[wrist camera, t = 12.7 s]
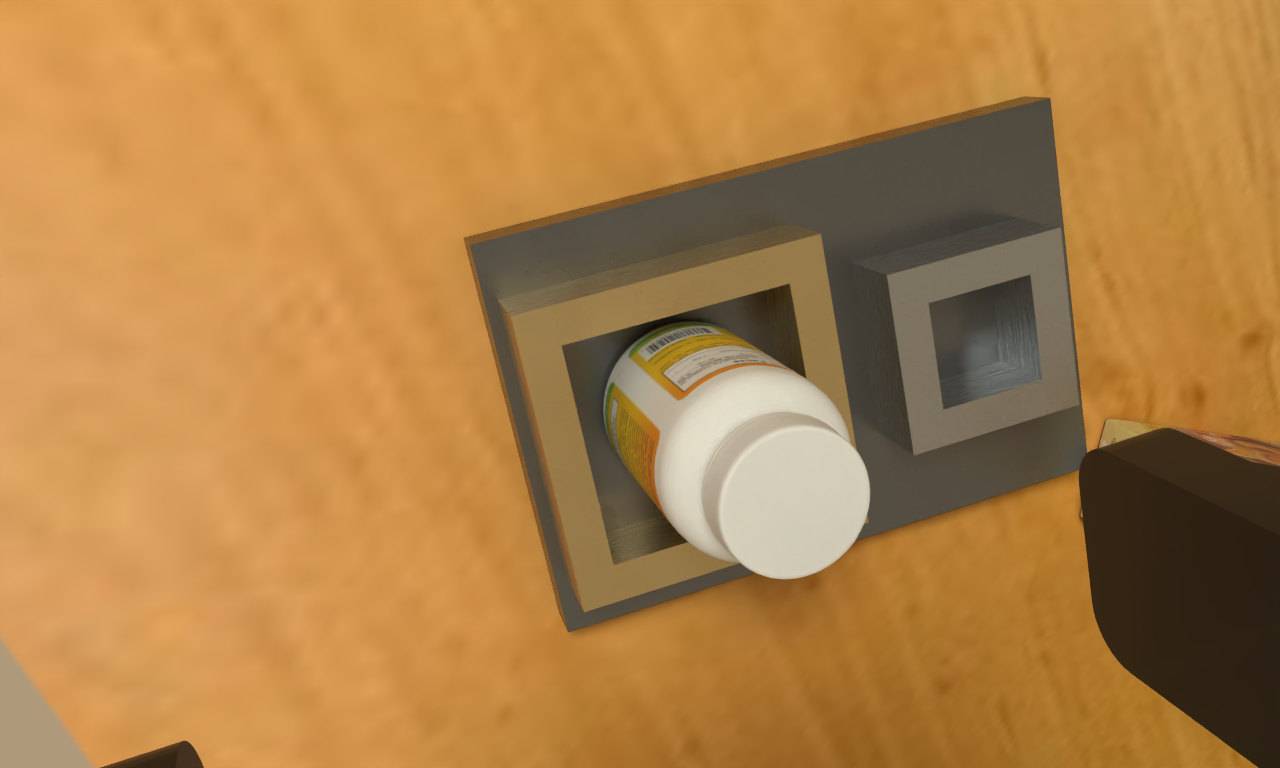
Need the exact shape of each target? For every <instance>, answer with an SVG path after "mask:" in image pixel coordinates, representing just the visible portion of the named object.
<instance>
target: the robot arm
mask: <svg viewBox="0 0 1280 768" xmlns="http://www.w3.org/2000/svg"><path fill="white" fill-rule="evenodd" d="M1079 487H1080V496H1081V505H1082V514H1083V523H1084V532H1085V541H1086V550H1087V559H1088V568H1089V577H1090V586H1091V595H1092V604H1093V610H1094V614H1095V618H1096V621H1097V624H1098V627H1099V629H1100V632H1101V634H1102V636H1103V638H1104V640H1105V642H1106V644H1107V646H1108V647H1109V649H1110V650H1111V652H1112V653H1113V655H1114V656H1115V657H1116V659H1117V660H1118V661H1119V662H1120V663H1121V665H1122V666H1123V667H1124V668H1125V669H1127V670H1128V671H1129V672H1130V673H1131V674H1133V675H1134V676H1135V677H1137V678H1138V679H1140V680H1141V681H1142V682H1144V683H1145V684H1146V685H1148V686H1149V687H1150V688H1152V689H1153V690H1154V691H1156V692H1157V693H1158V694H1160V695H1161V696H1162V697H1164V698H1165V699H1167V700H1168V701H1169V702H1171V703H1172V704H1173V705H1175V706H1176V707H1177V708H1179V709H1180V710H1181V711H1183V712H1184V713H1185V714H1187V715H1188V716H1190V717H1191V718H1192V719H1194V720H1195V721H1196V722H1198V723H1199V724H1200V725H1202V726H1203V727H1204V728H1206V729H1207V730H1208V731H1210V732H1211V733H1213V734H1214V735H1215V736H1217V737H1218V738H1219V739H1221V740H1222V741H1223V742H1225V743H1226V744H1227V745H1229V746H1230V747H1231V748H1233V749H1234V750H1235V751H1237V752H1238V753H1240V754H1241V755H1242V756H1244V757H1245V758H1246V759H1248V760H1249V761H1250V762H1252V763H1253V764H1254V765H1256V766H1257V767H1258V768H1280V467H1278V466H1272V465H1267V464H1261V463H1256V462H1251V461H1249V460H1247V459H1244V458H1242V457H1240V456H1237V455H1235V454H1232V453H1230V452H1228V451H1225V450H1223V449H1221V448H1218V447H1216V446H1214V445H1211V444H1209V443H1206V442H1204V441H1202V440H1199V439H1197V438H1195V437H1192V436H1190V435H1188V434H1185V433H1183V432H1180V431H1178V430H1175V429H1172V428H1160V429H1156V430H1153V431H1150V432H1147V433H1144V434H1141V435H1138V436H1135V437H1132V438H1128V439H1125V440H1122V441H1119V442H1116V443H1113V444H1110V445H1107V446H1104V447H1101V448H1097V449H1094V450H1091V451H1090V452H1088V453H1087V454H1086V455H1085V456H1084V458H1083V460H1082V462H1081V465H1080V470H1079ZM101 768H204V767H203V765H202V762H201V760H200V758H199V756H198V754H197V752H196V751H195V749H194V748H193V746H192V745H191V744H190V743H189V742H188V741H182V742H179V743H176V744H172V745H169V746H166V747H163V748H160V749H157V750H154V751H151V752H148V753H145V754H141V755H138V756H135V757H132V758H129V759H126V760H123V761H120V762H117V763H113V764H110V765H107V766H104V767H101Z"/></svg>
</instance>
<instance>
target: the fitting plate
mask: <svg viewBox="0 0 1280 768" xmlns="http://www.w3.org/2000/svg"><path fill="white" fill-rule="evenodd" d="M464 241H465V245H466V249H467V253H468V257H469V261H470V265H471V269H472V273H473V277H474V281H475V284H476V288H477V292H478V296H479V300H480V304H481V308H482V312H483V316H484V320H485V324H486V328H487V331H488V335H489V339H490V343H491V347H492V351H493V355H494V359H495V363H496V367H497V371H498V374H499V378H500V382H501V386H502V390H503V394H504V398H505V402H506V406H507V410H508V414H509V418H510V421H511V425H512V429H513V433H514V437H515V441H516V445H517V449H518V453H519V457H520V461H521V465H522V468H523V472H524V476H525V480H526V484H527V488H528V492H529V496H530V500H531V504H532V508H533V512H534V515H535V519H536V523H537V527H538V531H539V535H540V539H541V543H542V547H543V551H544V555H545V558H546V562H547V566H548V570H549V574H550V578H551V582H552V586H553V590H554V594H555V598H556V602H557V605H558V609H559V613H560V615H561V617H562V620H563V622H564V624H565V626H566V628H567V631H568V632H571V631H574V630H577V629H580V628H583V627H586V626H590V625H593V624H596V623H599V622H602V621H605V620H608V619H612V618H615V617H618V616H621V615H624V614H627V613H630V612H634V611H637V610H640V609H643V608H646V607H649V606H652V605H656V604H659V603H662V602H665V601H668V600H671V599H674V598H678V597H681V596H684V595H687V594H690V593H693V592H696V591H700V590H703V589H706V588H709V587H712V586H715V585H718V584H722V583H725V582H728V581H731V580H734V579H737V578H740V577H744V576H747V575H750V574H753V573H755V572H753V571H751V570H749V569H747V568H746V567H745V566H743V565H742V564H741V563H737V562H730V561H725V560H721V559H718V558H715V557H712V556H710V555H708V554H706V553H704V552H702V551H700V550H698V549H697V548H695V547H694V546H693V545H691V544H690V543H689V542H688V541H687V540H686V539H685V538H684V537H683V536H681V535H680V534H679V533H678V532H677V531H676V529H675V528H674V527H673V526H672V525H671V523H670V522H669V521H668V520H667V519H666V517H665V516H664V515H663V513H662V512H661V511H660V510H659V508H658V507H657V506H656V504H655V503H654V502H653V500H652V499H651V498H650V497H649V495H648V494H647V493H646V492H645V490H644V489H643V488H642V487H641V485H640V484H639V483H638V482H637V480H636V479H635V478H634V477H633V475H632V474H631V473H630V472H629V471H628V469H627V468H626V467H625V465H624V464H623V463H622V461H621V460H620V459H619V457H618V456H617V454H616V453H615V451H614V449H613V447H612V446H611V443H610V441H609V439H608V436H607V433H606V429H605V424H604V415H603V407H604V395H605V390H606V386H607V383H608V380H609V377H610V375H611V373H612V371H613V368H614V367H615V365H616V363H617V362H618V360H619V359H620V357H621V356H622V355H623V353H624V352H625V351H626V350H627V349H628V348H629V347H630V346H631V345H632V344H633V343H634V342H635V341H637V340H638V339H639V338H641V337H642V336H644V335H645V334H647V333H649V332H651V331H653V330H655V329H657V328H659V327H662V326H665V325H668V324H672V323H678V322H690V321H691V322H703V323H709V324H713V325H716V326H719V327H721V328H724V329H726V330H728V331H730V332H732V333H733V334H735V335H737V336H738V337H740V338H742V339H743V340H745V341H746V342H748V343H750V344H751V345H753V346H754V347H756V348H757V349H759V350H761V351H762V352H764V353H766V354H767V355H769V356H771V357H772V358H773V359H775V360H776V361H778V362H780V363H781V364H783V365H784V366H786V367H788V368H789V369H791V370H793V371H795V372H796V373H798V374H799V375H801V376H803V377H804V378H806V379H807V380H809V381H810V382H812V383H813V384H814V385H815V386H816V387H818V388H819V389H820V390H821V391H822V392H823V393H825V394H826V395H827V396H828V397H829V399H830V400H831V401H832V402H833V403H834V405H835V406H836V407H837V409H838V411H839V412H840V414H841V416H842V418H843V420H844V422H845V424H846V427H847V430H848V433H849V437H850V442H851V445H852V446H853V447H854V448H855V449H856V451H857V452H858V453H859V455H860V456H861V458H862V460H863V462H864V464H865V467H866V470H867V473H868V477H869V483H870V504H869V508H868V513H867V516H866V520H865V522H864V525H863V527H862V529H861V531H860V533H859V535H858V537H857V538H856V540H855V541H857V540H860V539H863V538H866V537H869V536H872V535H876V534H879V533H882V532H885V531H888V530H891V529H894V528H898V527H901V526H904V525H907V524H910V523H913V522H916V521H920V520H923V519H926V518H929V517H932V516H935V515H938V514H942V513H945V512H948V511H951V510H954V509H957V508H960V507H964V506H967V505H970V504H973V503H976V502H979V501H982V500H986V499H989V498H992V497H995V496H998V495H1001V494H1004V493H1008V492H1011V491H1014V490H1017V489H1020V488H1023V487H1026V486H1030V485H1033V484H1036V483H1039V482H1042V481H1045V480H1048V479H1052V478H1055V477H1058V476H1061V475H1064V474H1067V473H1070V472H1074V471H1077V470H1080V465H1081V462H1082V460H1083V458H1084V456H1085V455H1086V454H1087V448H1086V438H1085V429H1084V419H1083V409H1082V400H1081V390H1080V380H1079V371H1078V361H1077V351H1076V342H1075V332H1074V322H1073V313H1072V303H1071V294H1070V284H1069V274H1068V265H1067V255H1066V245H1065V236H1064V226H1063V216H1062V207H1061V197H1060V187H1059V178H1058V168H1057V158H1056V149H1055V139H1054V130H1053V120H1052V110H1051V101H1050V98H1042V97H1021V98H1017V99H1013V100H1009V101H1005V102H1001V103H997V104H994V105H990V106H986V107H982V108H978V109H974V110H970V111H966V112H962V113H958V114H954V115H950V116H946V117H942V118H938V119H934V120H930V121H926V122H922V123H918V124H914V125H910V126H906V127H902V128H898V129H894V130H890V131H886V132H882V133H878V134H874V135H870V136H866V137H862V138H858V139H854V140H851V141H847V142H843V143H839V144H835V145H831V146H827V147H823V148H819V149H815V150H811V151H807V152H803V153H799V154H795V155H791V156H787V157H783V158H779V159H775V160H771V161H767V162H763V163H759V164H755V165H751V166H747V167H743V168H739V169H735V170H731V171H727V172H723V173H719V174H715V175H711V176H707V177H704V178H700V179H696V180H692V181H688V182H684V183H680V184H676V185H672V186H668V187H664V188H660V189H656V190H652V191H648V192H644V193H640V194H636V195H632V196H628V197H624V198H620V199H616V200H612V201H608V202H604V203H600V204H596V205H592V206H588V207H584V208H580V209H576V210H572V211H568V212H564V213H561V214H557V215H553V216H549V217H545V218H541V219H537V220H533V221H529V222H525V223H521V224H517V225H513V226H509V227H505V228H501V229H497V230H493V231H489V232H485V233H481V234H477V235H473V236H469V237H465V238H464Z"/></svg>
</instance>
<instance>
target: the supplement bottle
mask: <svg viewBox="0 0 1280 768" xmlns="http://www.w3.org/2000/svg"><path fill="white" fill-rule="evenodd" d="M603 415H604V424H605V429H606V433H607V436H608V439H609V441H610V443H611V446H612V447H613V449H614V451H615V453H616V454H617V456H618V457H619V459H620V460H621V461H622V463H623V464H624V465H625V467H626V468H627V469H628V471H629V472H630V473H631V474H632V475H633V477H634V478H635V479H636V480H637V482H638V483H639V484H640V485H641V487H642V488H643V489H644V490H645V492H646V493H647V494H648V495H649V497H650V498H651V499H652V500H653V502H654V503H655V504H656V506H657V507H658V508H659V510H660V511H661V512H662V513H663V515H664V516H665V517H666V519H667V520H668V521H669V522H670V523H671V525H672V526H673V527H674V528H675V529H676V531H677V532H678V533H679V534H680V535H681V536H683V537H684V538H685V539H686V540H687V541H688V542H689V543H690V544H691V545H693V546H694V547H695V548H697V549H698V550H700V551H702V552H704V553H706V554H708V555H710V556H712V557H715V558H718V559H721V560H725V561H730V562H737V563H741V564H742V565H743V566H745V567H746V568H747V569H749V570H751V571H753V572H755V573H757V574H759V575H762V576H766V577H769V578H776V579H795V578H801V577H805V576H808V575H811V574H814V573H816V572H819V571H821V570H823V569H824V568H826V567H828V566H830V565H831V564H832V563H834V562H835V561H836V560H837V559H839V558H840V557H841V556H842V555H843V554H844V553H845V552H846V551H847V550H848V549H849V548H850V546H851V545H852V544H853V542H854V541H855V540H856V538H857V537H858V535H859V533H860V531H861V529H862V527H863V525H864V522H865V520H866V516H867V513H868V508H869V504H870V483H869V477H868V473H867V470H866V467H865V464H864V462H863V460H862V458H861V456H860V455H859V453H858V452H857V451H856V449H855V448H854V447H853V446H852V445H851V442H850V437H849V433H848V430H847V427H846V424H845V422H844V420H843V418H842V416H841V414H840V412H839V411H838V409H837V407H836V406H835V405H834V403H833V402H832V401H831V400H830V399H829V397H828V396H827V395H826V394H825V393H823V392H822V391H821V390H820V389H819V388H818V387H816V386H815V385H814V384H813V383H812V382H810V381H809V380H807V379H806V378H804V377H803V376H801V375H799V374H798V373H796V372H795V371H793V370H791V369H789V368H788V367H786V366H784V365H783V364H781V363H780V362H778V361H776V360H775V359H773V358H772V357H771V356H769V355H767V354H766V353H764V352H762V351H761V350H759V349H757V348H756V347H754V346H753V345H751V344H750V343H748V342H746V341H745V340H743V339H742V338H740V337H738V336H737V335H735V334H733V333H732V332H730V331H728V330H726V329H724V328H721V327H719V326H716V325H713V324H709V323H703V322H691V321H690V322H678V323H672V324H668V325H665V326H662V327H659V328H657V329H655V330H653V331H651V332H649V333H647V334H645V335H644V336H642V337H641V338H639V339H638V340H637V341H635V342H634V343H633V344H632V345H631V346H630V347H629V348H628V349H627V350H626V351H625V352H624V353H623V355H622V356H621V357H620V359H619V360H618V362H617V363H616V365H615V367H614V368H613V371H612V373H611V375H610V377H609V380H608V383H607V386H606V390H605V395H604V407H603Z"/></svg>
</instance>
